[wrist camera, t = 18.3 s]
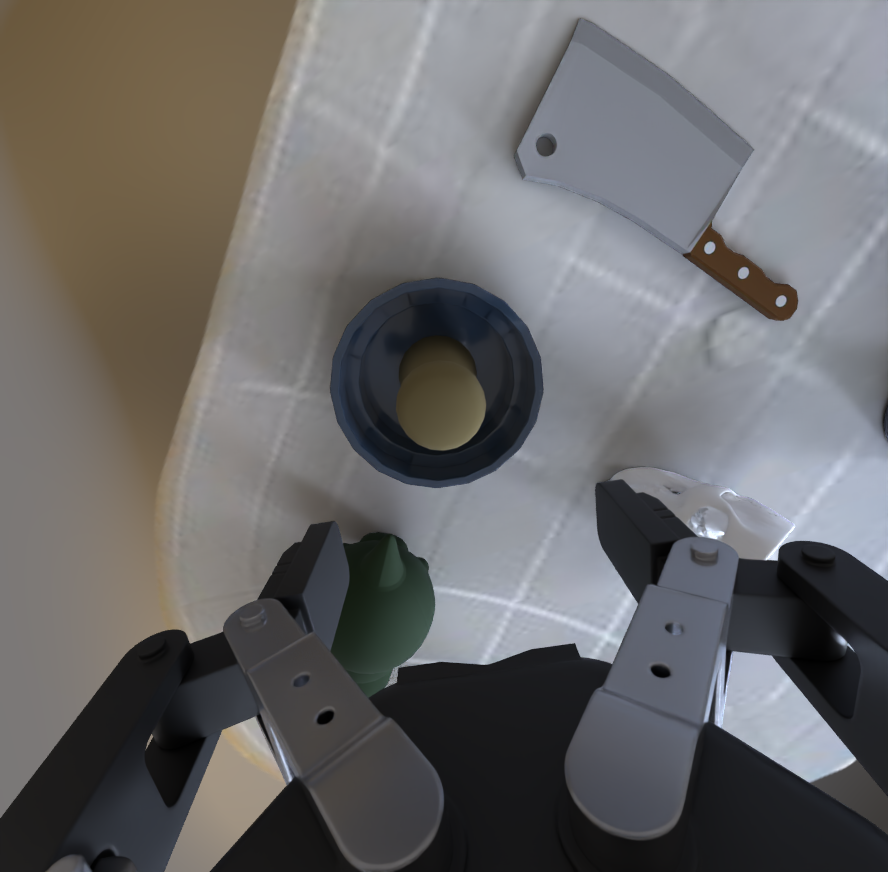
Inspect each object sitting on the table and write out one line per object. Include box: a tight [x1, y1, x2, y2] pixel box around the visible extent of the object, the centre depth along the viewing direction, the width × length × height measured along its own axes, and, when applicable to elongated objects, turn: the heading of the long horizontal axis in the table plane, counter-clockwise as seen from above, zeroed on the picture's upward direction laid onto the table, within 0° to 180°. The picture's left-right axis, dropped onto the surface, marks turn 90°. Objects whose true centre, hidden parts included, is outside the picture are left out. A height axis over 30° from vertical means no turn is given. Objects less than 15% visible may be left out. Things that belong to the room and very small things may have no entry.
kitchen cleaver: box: [514, 18, 798, 321], centre depth 32 cm, size 24×1×10 cm
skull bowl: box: [609, 467, 795, 560], centre depth 38 cm, size 10×14×12 cm
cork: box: [396, 335, 486, 451], centre depth 30 cm, size 6×6×11 cm
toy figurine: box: [330, 532, 435, 698], centre depth 34 cm, size 9×19×25 cm
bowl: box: [330, 278, 544, 488], centre depth 33 cm, size 14×14×6 cm
